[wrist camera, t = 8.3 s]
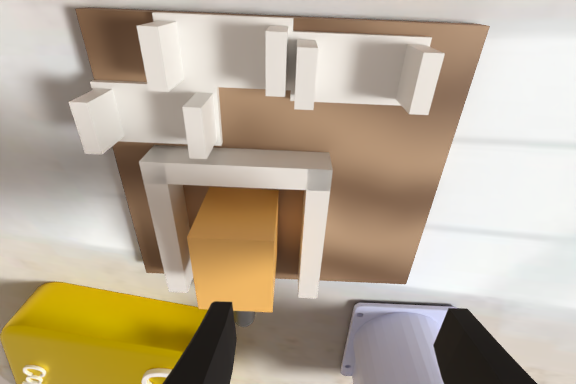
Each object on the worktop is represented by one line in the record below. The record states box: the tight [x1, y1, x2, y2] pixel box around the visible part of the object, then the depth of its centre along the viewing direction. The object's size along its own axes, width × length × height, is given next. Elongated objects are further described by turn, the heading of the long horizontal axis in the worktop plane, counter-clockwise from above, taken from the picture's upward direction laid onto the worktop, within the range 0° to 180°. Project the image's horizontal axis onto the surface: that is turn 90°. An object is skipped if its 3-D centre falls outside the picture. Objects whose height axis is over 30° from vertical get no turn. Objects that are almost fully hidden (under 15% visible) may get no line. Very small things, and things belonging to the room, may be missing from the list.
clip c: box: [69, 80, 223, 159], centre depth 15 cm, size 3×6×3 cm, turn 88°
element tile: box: [0, 282, 208, 384], centre depth 28 cm, size 15×15×5 cm
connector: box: [187, 187, 279, 327], centre depth 19 cm, size 9×4×4 cm, turn 178°
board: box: [75, 8, 490, 284], centre depth 19 cm, size 16×18×1 cm
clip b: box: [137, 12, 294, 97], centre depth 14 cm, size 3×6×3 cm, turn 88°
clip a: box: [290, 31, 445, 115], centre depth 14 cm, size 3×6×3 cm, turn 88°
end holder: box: [139, 145, 333, 299], centre depth 19 cm, size 9×9×2 cm
